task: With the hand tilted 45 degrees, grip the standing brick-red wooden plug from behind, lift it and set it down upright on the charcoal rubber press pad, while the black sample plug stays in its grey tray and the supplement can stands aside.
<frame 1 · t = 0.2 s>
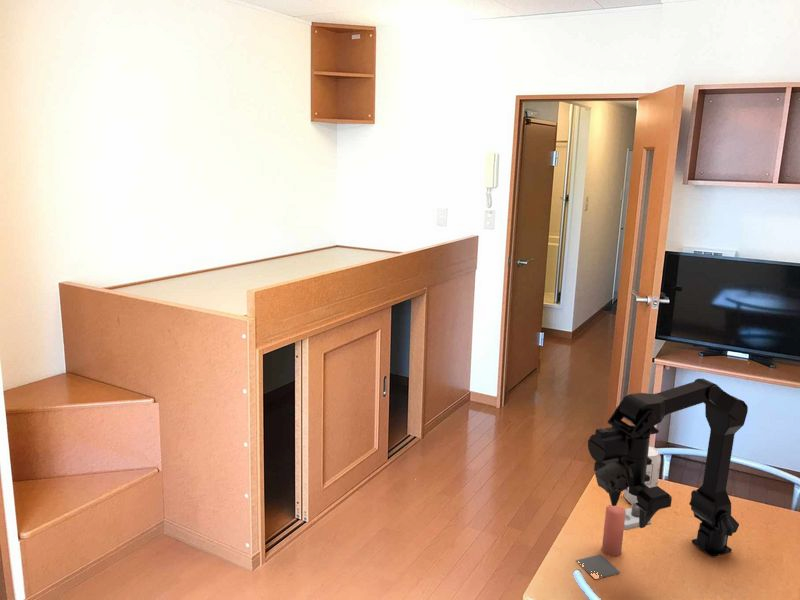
hand: (627, 516, 144), 14 cm above the table, tool pointing down, fingers open, 9 cm apart
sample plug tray: (630, 520, 167), on the table
supplement can: (639, 500, 176), on the table
red plug: (611, 550, 154), on the table
press pad: (597, 567, 148), on the table
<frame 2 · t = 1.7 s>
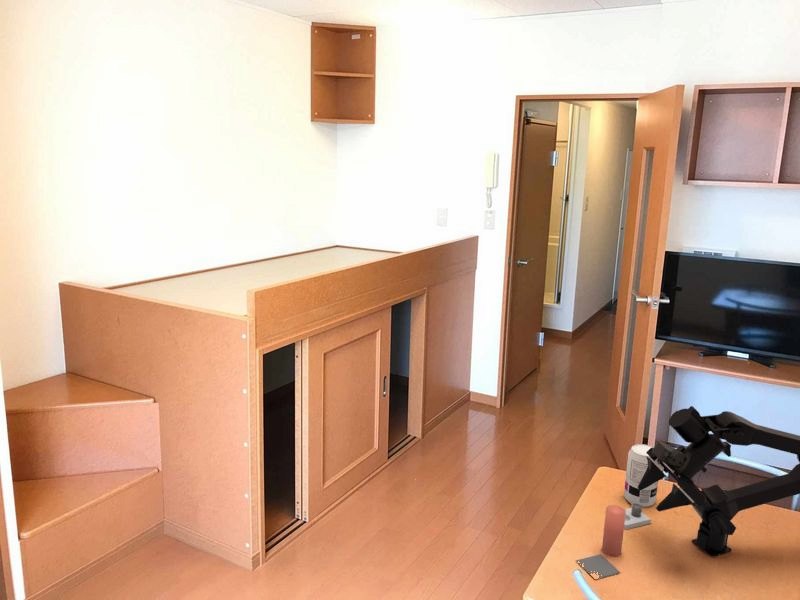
hand: (647, 499, 152), 14 cm above the table, tool tilted 45°, fingers open, 9 cm apart
nothing on the table moved.
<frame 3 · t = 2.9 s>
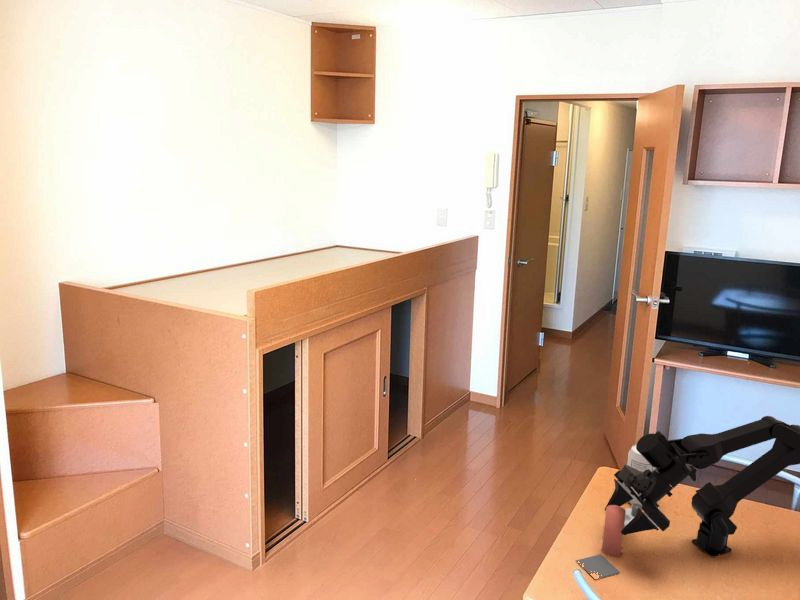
hand: (613, 522, 152), 8 cm above the table, tool tilted 45°, fingers open, 9 cm apart
nothing on the table moved.
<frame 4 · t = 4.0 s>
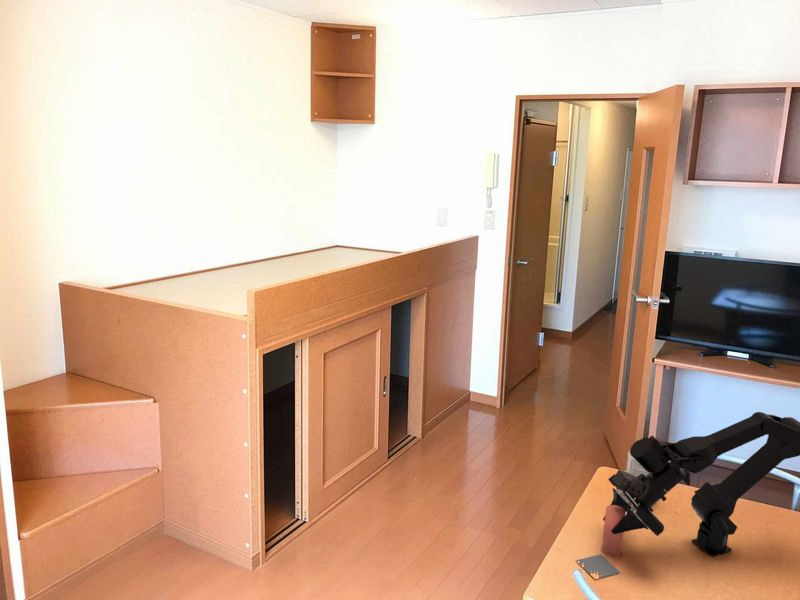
hand: (608, 526, 153), 7 cm above the table, tool tilted 45°, fingers closed on red plug, 4 cm apart
red plug: (611, 550, 154), on the table, touching gripper
everything else where it was.
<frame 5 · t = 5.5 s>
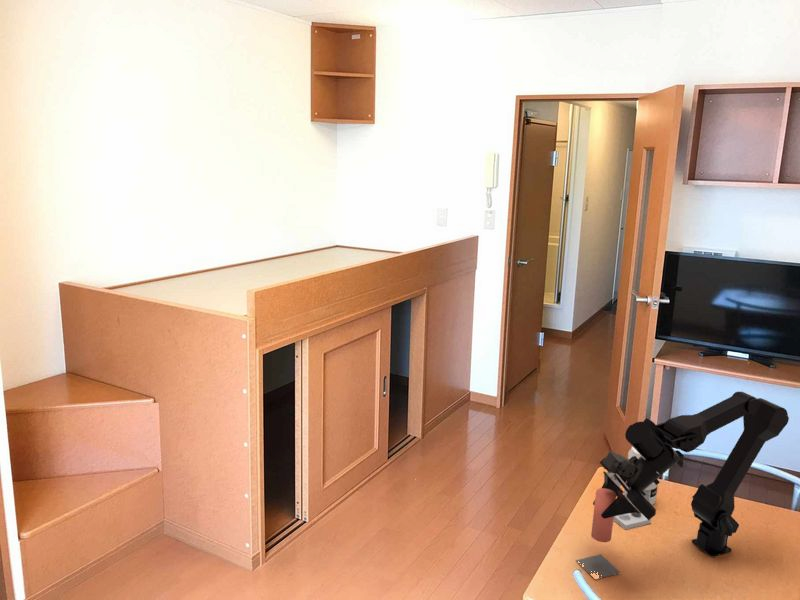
hand: (598, 511, 146), 14 cm above the table, tool tilted 45°, fingers closed on red plug, 4 cm apart
red plug: (601, 536, 147), point 7 cm above the table, touching gripper
everything else where it was.
when the fingers open (8 cm above the table, at t = 7.3 s): red plug stays where it is, resting on press pad.
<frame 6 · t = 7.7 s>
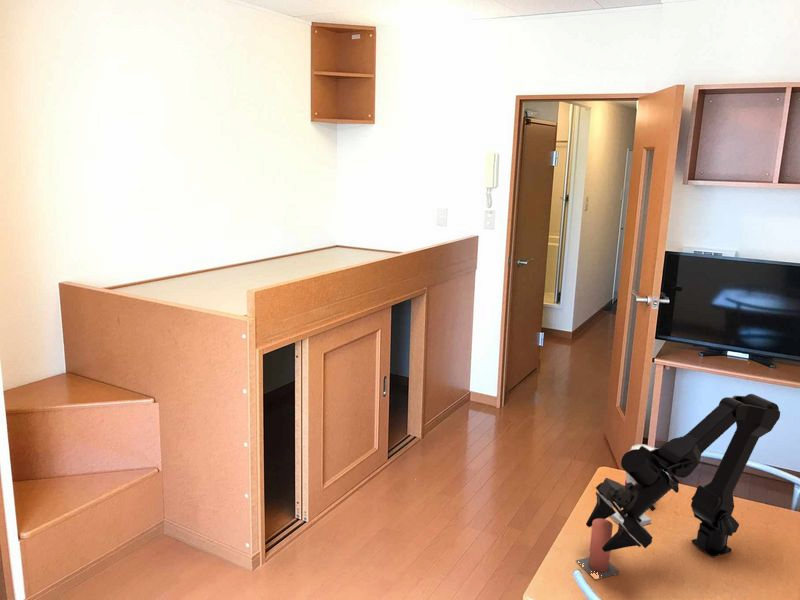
hand: (595, 537, 146), 8 cm above the table, tool tilted 45°, fingers open, 9 cm apart
red plug: (598, 566, 148), resting on press pad
everything else where it was.
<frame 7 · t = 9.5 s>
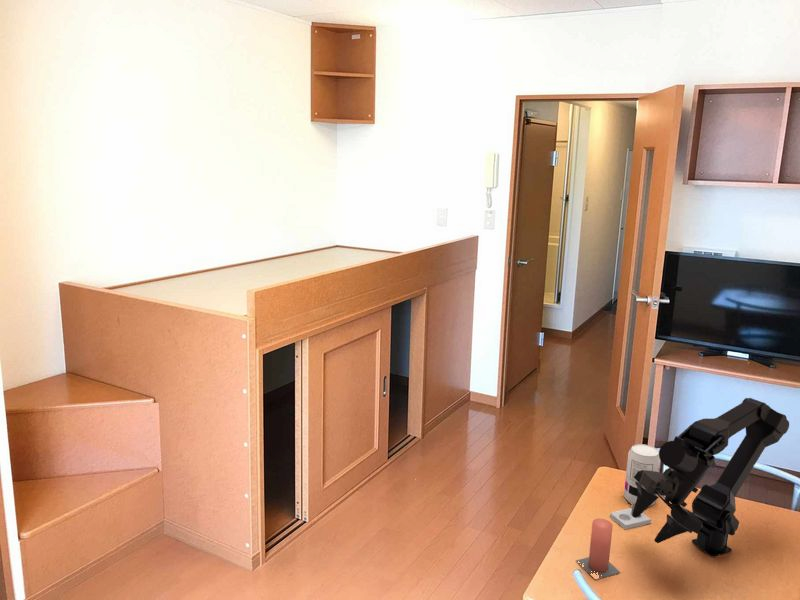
hand: (644, 529, 147), 10 cm above the table, tool tilted 30°, fingers open, 9 cm apart
nothing on the table moved.
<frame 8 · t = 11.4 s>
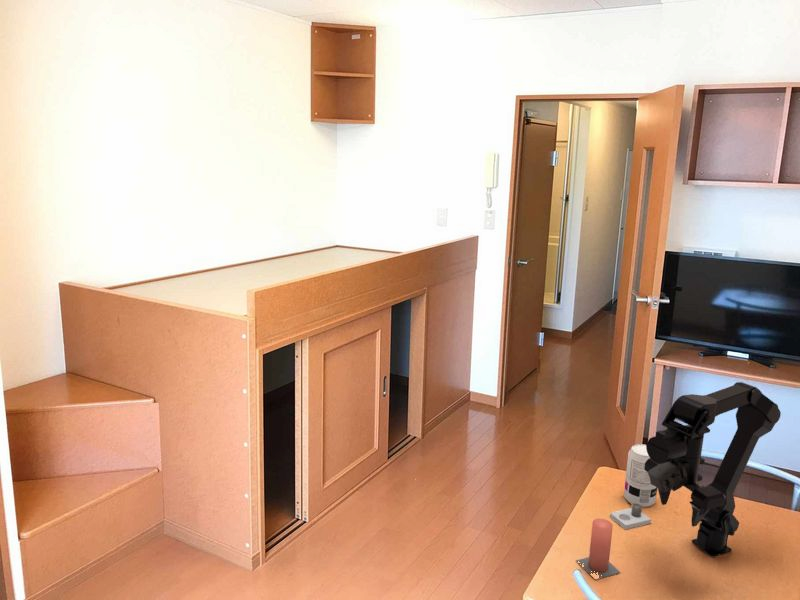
hand: (678, 514, 146), 13 cm above the table, tool pointing down, fingers open, 9 cm apart
nothing on the table moved.
at the end: red plug inside the target area (0.1 cm from its centre), resting on press pad; red plug tilted 0° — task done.
